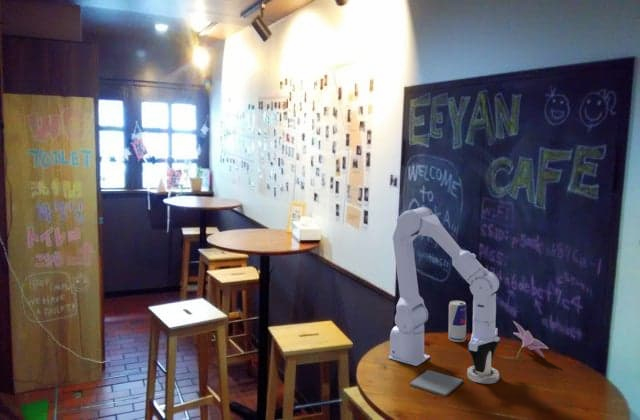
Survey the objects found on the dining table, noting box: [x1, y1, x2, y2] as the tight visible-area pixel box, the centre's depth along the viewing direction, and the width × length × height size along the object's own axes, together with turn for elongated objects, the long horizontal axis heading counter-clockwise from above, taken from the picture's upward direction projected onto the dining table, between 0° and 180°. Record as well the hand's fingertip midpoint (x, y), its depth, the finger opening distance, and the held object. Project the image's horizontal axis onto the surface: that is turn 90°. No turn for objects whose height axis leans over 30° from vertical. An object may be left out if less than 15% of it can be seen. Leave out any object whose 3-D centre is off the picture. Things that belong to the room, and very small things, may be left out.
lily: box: [512, 320, 549, 359], centre depth 152 cm, size 12×12×10 cm
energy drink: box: [447, 299, 467, 343], centre depth 166 cm, size 5×5×12 cm
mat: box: [409, 369, 464, 397], centre depth 136 cm, size 10×10×1 cm
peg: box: [475, 351, 492, 376], centre depth 139 cm, size 4×4×7 cm
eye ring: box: [466, 365, 500, 385], centre depth 139 cm, size 8×8×2 cm
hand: (483, 368), depth 139 cm, fingers closed on peg, 4 cm apart
